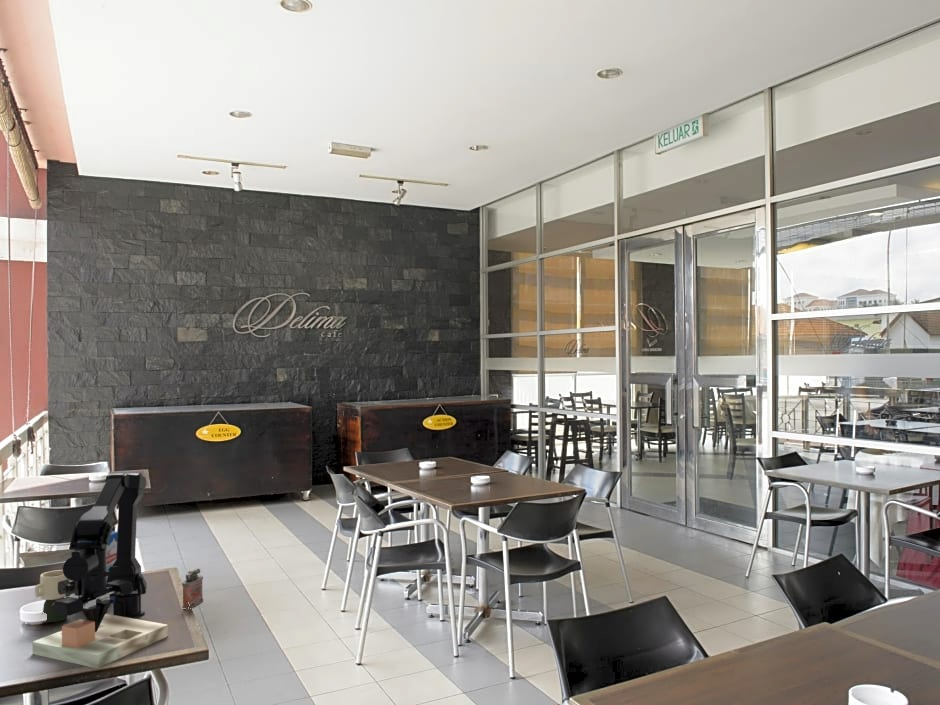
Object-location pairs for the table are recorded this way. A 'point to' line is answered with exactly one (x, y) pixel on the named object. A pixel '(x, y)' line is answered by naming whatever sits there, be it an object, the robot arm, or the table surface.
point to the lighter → (192, 589)
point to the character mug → (50, 593)
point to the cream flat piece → (104, 641)
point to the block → (78, 633)
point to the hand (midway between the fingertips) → (94, 631)
